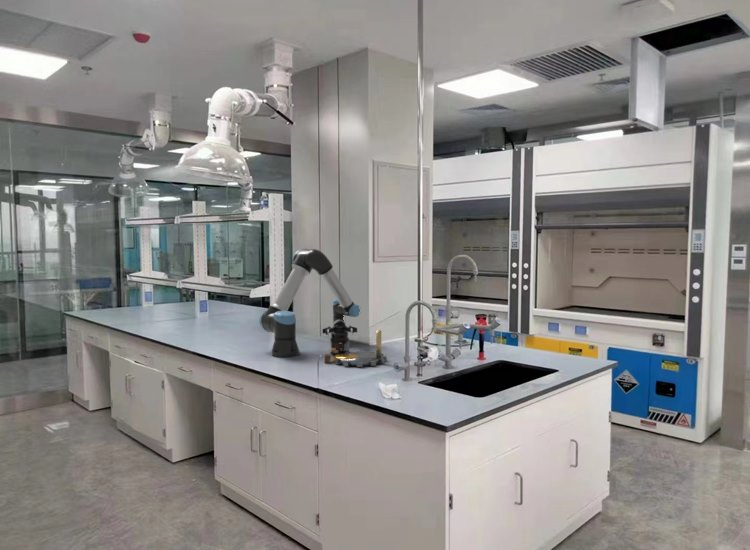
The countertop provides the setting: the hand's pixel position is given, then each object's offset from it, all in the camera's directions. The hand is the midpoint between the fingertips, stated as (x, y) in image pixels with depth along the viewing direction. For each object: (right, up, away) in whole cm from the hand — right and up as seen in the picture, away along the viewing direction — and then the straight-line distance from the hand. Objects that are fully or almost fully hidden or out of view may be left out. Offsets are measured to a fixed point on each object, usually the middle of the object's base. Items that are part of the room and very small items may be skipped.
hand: (340, 333), depth 296 cm
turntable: (+12, -12, -27) cm, 32 cm away
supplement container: (+1, -11, -9) cm, 14 cm away
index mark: (-4, -12, -29) cm, 31 cm away
